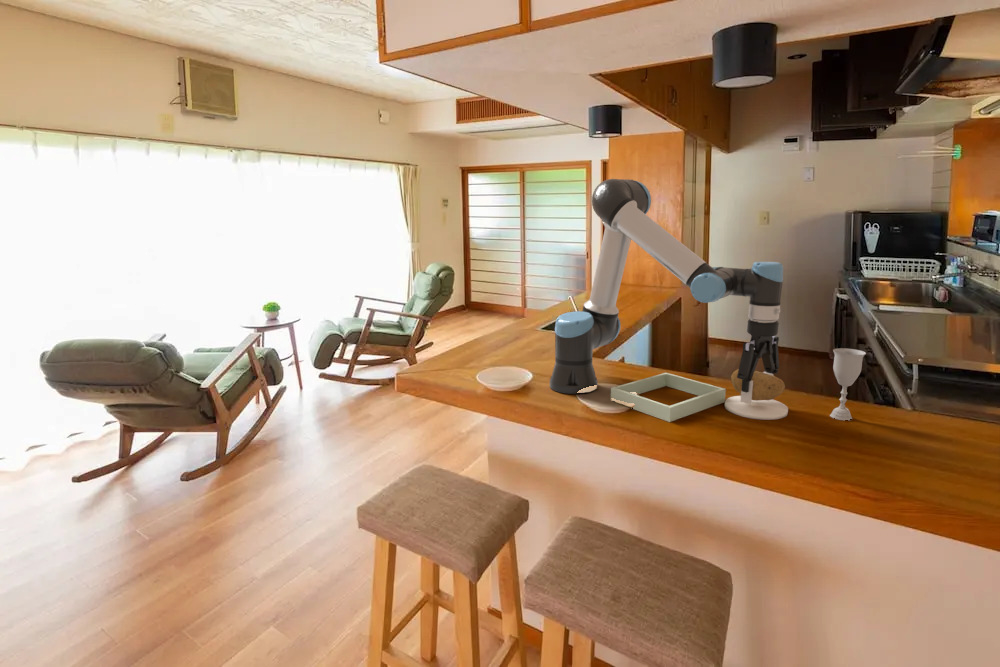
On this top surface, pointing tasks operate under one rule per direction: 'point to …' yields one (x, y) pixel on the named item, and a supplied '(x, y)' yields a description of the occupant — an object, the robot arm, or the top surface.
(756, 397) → the potato
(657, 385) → the crate
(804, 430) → the top surface
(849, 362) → the chalice
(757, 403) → the plate
